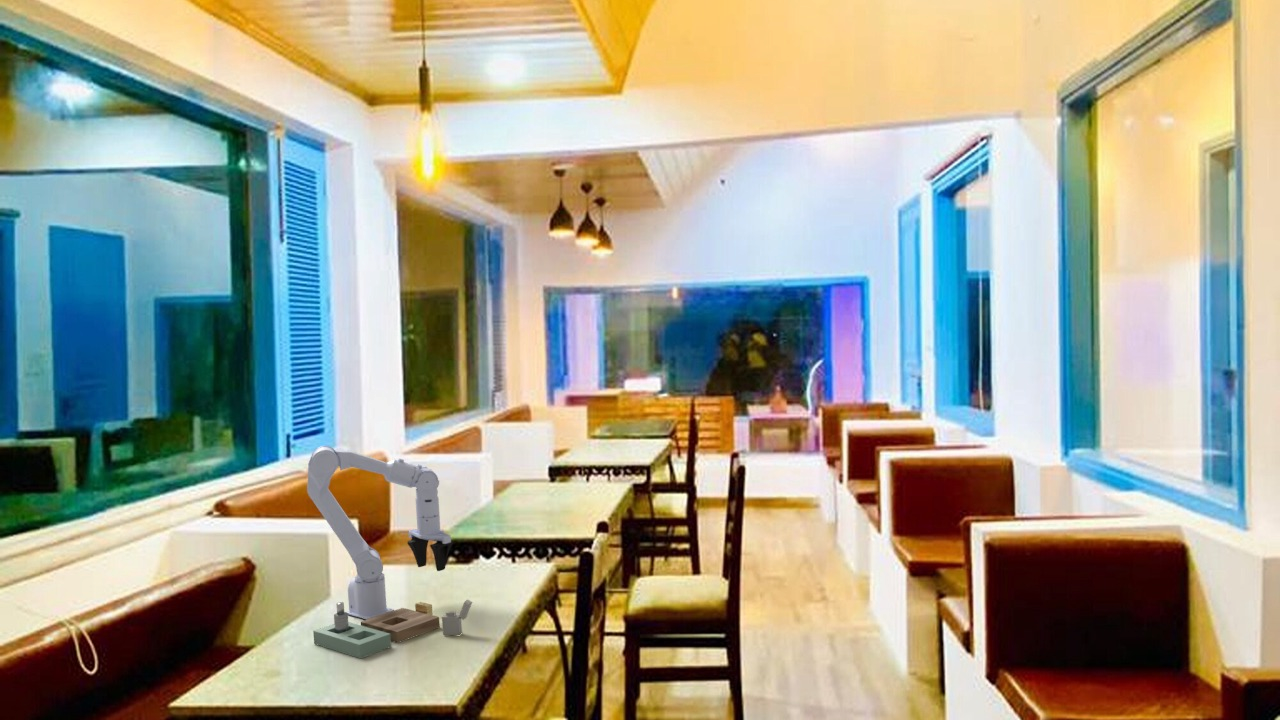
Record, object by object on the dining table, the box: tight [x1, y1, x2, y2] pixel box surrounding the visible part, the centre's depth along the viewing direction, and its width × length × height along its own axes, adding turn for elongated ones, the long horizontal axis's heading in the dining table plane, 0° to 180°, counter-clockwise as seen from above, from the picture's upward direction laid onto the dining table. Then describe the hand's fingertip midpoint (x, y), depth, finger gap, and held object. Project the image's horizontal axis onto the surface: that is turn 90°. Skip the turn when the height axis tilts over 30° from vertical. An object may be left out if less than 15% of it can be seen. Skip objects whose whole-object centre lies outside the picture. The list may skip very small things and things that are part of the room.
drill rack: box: [312, 621, 392, 659], centre depth 208 cm, size 18×8×3 cm, turn 51°
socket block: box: [360, 607, 441, 643], centre depth 217 cm, size 14×12×2 cm
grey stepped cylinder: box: [333, 601, 349, 634], centre depth 211 cm, size 3×3×9 cm
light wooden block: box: [414, 601, 434, 615], centre depth 221 cm, size 4×6×4 cm
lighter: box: [441, 599, 473, 636], centre depth 212 cm, size 7×2×8 cm, turn 78°
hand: (431, 568), depth 236 cm, fingers open, 7 cm apart
